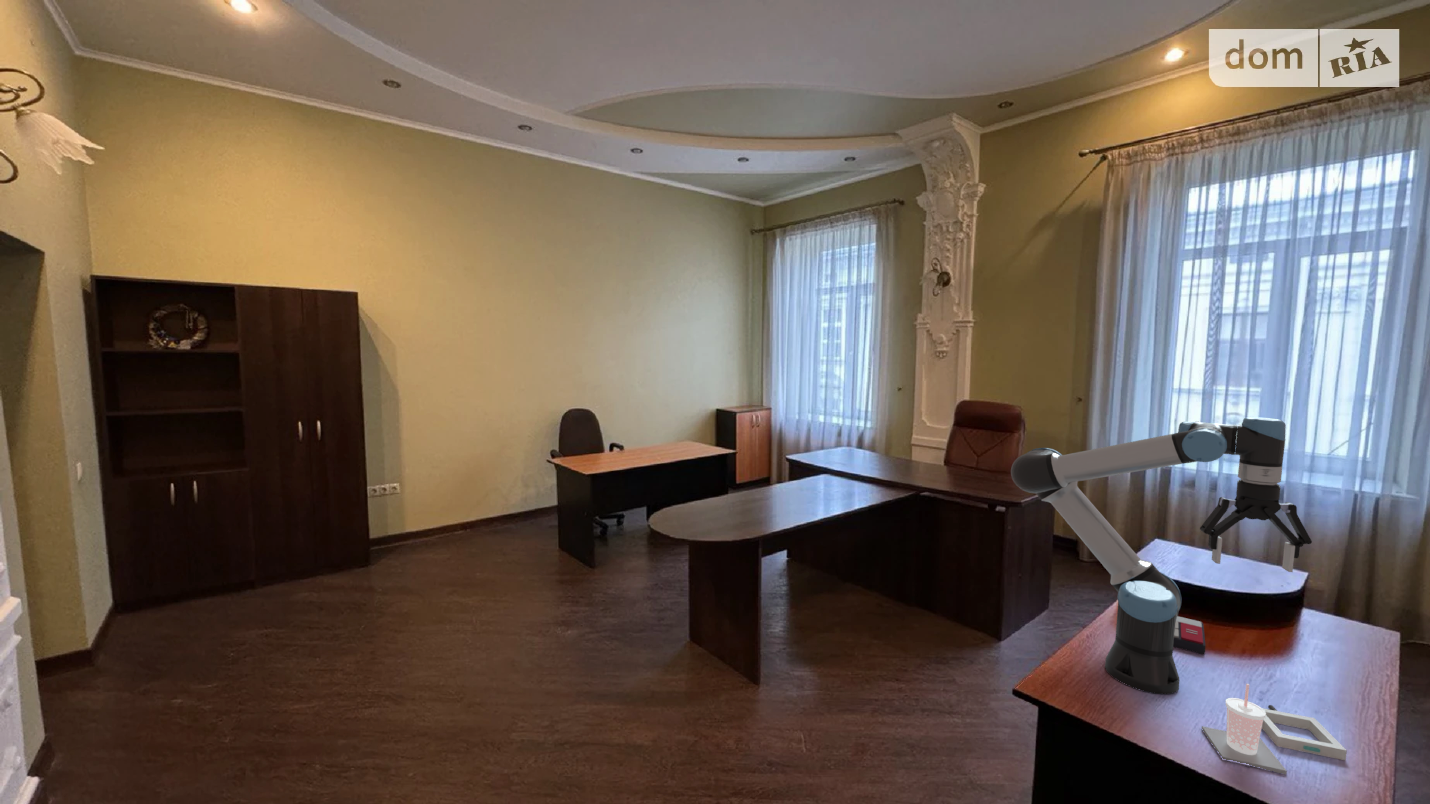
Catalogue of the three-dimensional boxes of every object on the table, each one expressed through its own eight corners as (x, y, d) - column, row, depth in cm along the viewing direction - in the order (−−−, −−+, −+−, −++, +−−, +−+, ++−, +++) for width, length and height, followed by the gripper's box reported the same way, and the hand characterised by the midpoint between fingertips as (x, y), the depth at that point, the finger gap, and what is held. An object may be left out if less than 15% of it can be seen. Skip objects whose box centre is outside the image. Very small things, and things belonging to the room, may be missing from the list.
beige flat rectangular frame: (1277, 747, 118) (1278, 737, 117) (1241, 703, 132) (1242, 694, 132) (1346, 761, 114) (1348, 751, 113) (1301, 714, 128) (1302, 705, 128)
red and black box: (1155, 630, 160) (1156, 609, 171) (1154, 644, 160) (1155, 622, 172) (1206, 643, 153) (1203, 620, 164) (1204, 658, 153) (1202, 633, 165)
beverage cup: (1268, 761, 113) (1275, 696, 111) (1230, 753, 115) (1236, 689, 113) (1252, 741, 118) (1258, 679, 117) (1216, 734, 120) (1221, 673, 119)
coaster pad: (1222, 760, 114) (1222, 756, 114) (1201, 729, 123) (1201, 726, 123) (1286, 774, 110) (1286, 770, 110) (1260, 741, 119) (1260, 738, 119)
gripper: (1200, 480, 136) (1193, 563, 138) (1338, 490, 127) (1328, 579, 129) (1188, 473, 143) (1182, 553, 145) (1318, 482, 133) (1309, 568, 135)
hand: (1250, 566), depth 137 cm, fingers open, 13 cm apart
